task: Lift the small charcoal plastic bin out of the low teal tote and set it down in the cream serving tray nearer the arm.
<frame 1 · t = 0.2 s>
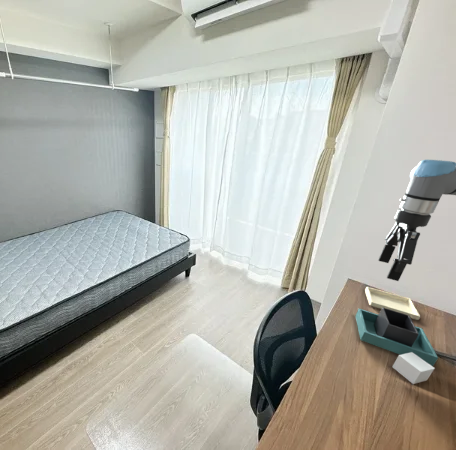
hand: (387, 270, 83), 30 cm above the table, tool pointing down, fingers open, 13 cm apart
tote: (388, 339, 93), on the table
small bin: (389, 338, 93), point 1 cm above the table, touching tote
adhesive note: (408, 375, 80), on the table
tray: (389, 304, 113), on the table
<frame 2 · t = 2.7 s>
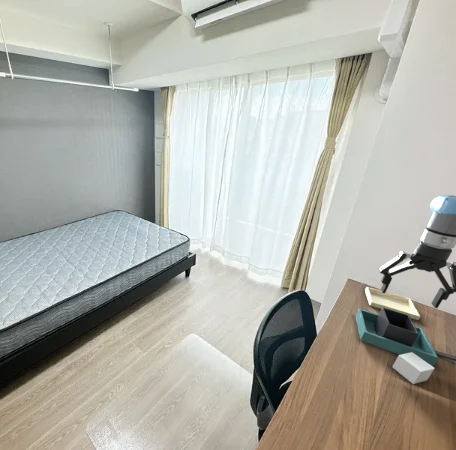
hand: (407, 298, 86), 19 cm above the table, tool pointing down, fingers open, 13 cm apart
nothing on the table moved.
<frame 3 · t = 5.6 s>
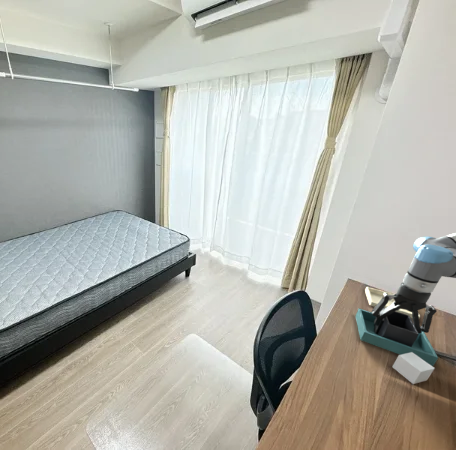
hand: (390, 336, 93), 1 cm above the table, tool pointing down, fingers closed on small bin, 8 cm apart
small bin: (389, 338, 93), point 1 cm above the table, touching gripper, tote
everything else where it was.
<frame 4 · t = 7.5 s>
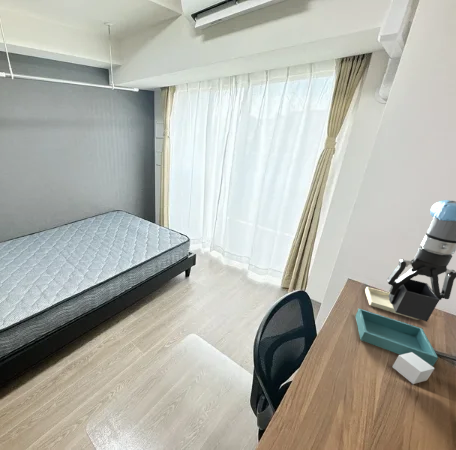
hand: (407, 306, 88), 16 cm above the table, tool pointing down, fingers closed on small bin, 8 cm apart
small bin: (406, 307, 88), point 15 cm above the table, touching gripper
everything else where it was.
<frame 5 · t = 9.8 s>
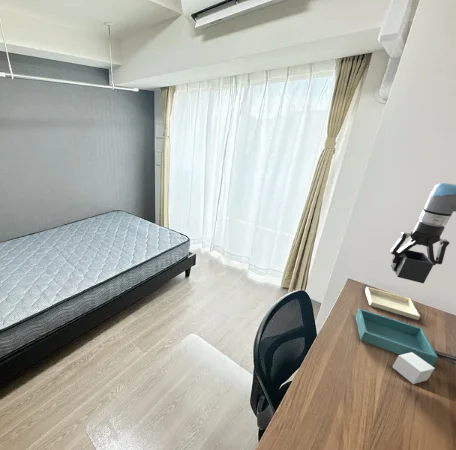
hand: (406, 272, 103), 19 cm above the table, tool pointing down, fingers closed on small bin, 8 cm apart
small bin: (406, 274, 104), point 18 cm above the table, touching gripper
everything else where it was.
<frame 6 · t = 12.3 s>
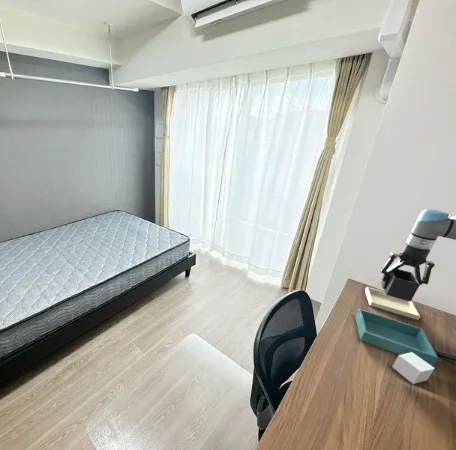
hand: (395, 290, 110), 8 cm above the table, tool pointing down, fingers closed on small bin, 8 cm apart
small bin: (395, 291, 110), point 7 cm above the table, touching gripper
everything else where it was.
when the fingers open (1 cm above the table, at t = 14.3 s): small bin stays where it is, resting on tray.
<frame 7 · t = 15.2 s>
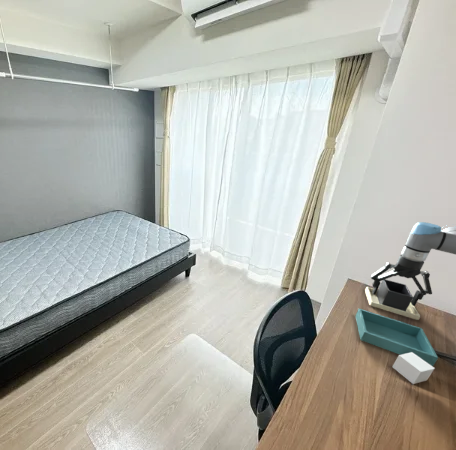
hand: (392, 298, 111), 4 cm above the table, tool pointing down, fingers open, 13 cm apart
small bin: (389, 303, 113), resting on tray
everything else where it was.
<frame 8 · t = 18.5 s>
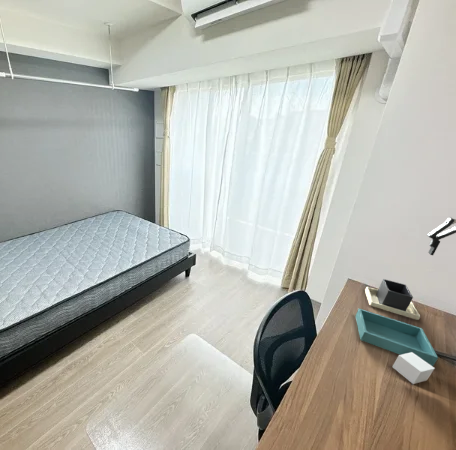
hand: (453, 258, 100), 27 cm above the table, tool pointing down, fingers open, 13 cm apart
nothing on the table moved.
at the end: small bin inside the target area in the tray (0.1 cm from its centre), point 0.5 cm above the tray's base; small bin touching tray; small bin tilted 0° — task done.
